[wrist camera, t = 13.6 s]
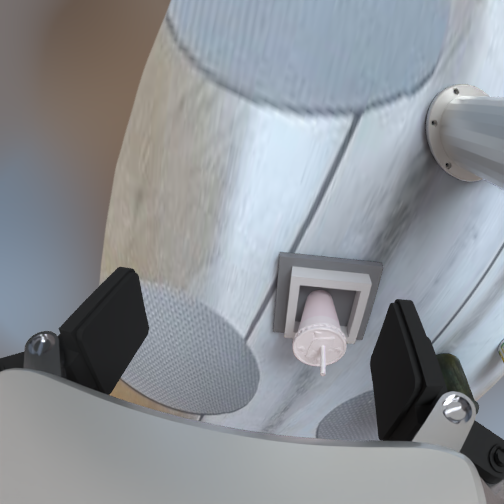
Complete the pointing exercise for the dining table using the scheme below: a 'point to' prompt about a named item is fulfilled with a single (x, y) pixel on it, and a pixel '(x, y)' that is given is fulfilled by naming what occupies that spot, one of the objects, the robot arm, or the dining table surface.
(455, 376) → the mug
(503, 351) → the supplement bottle
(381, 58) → the dining table surface
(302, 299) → the dock
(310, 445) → the robot arm
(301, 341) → the smoothie
